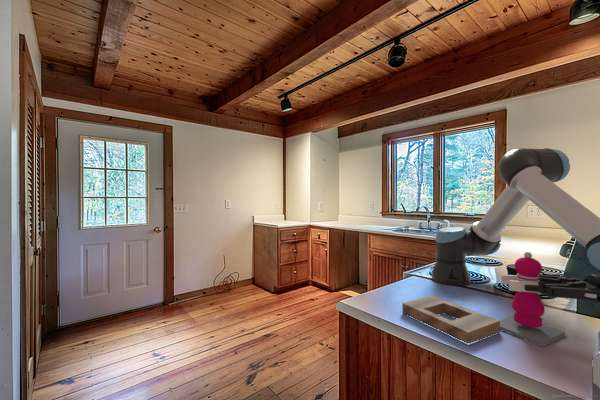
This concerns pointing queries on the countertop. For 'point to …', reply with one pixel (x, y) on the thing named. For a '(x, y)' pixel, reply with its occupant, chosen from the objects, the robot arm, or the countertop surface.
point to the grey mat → (531, 331)
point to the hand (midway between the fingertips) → (505, 282)
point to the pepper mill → (528, 293)
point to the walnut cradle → (463, 328)
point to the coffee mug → (513, 271)
